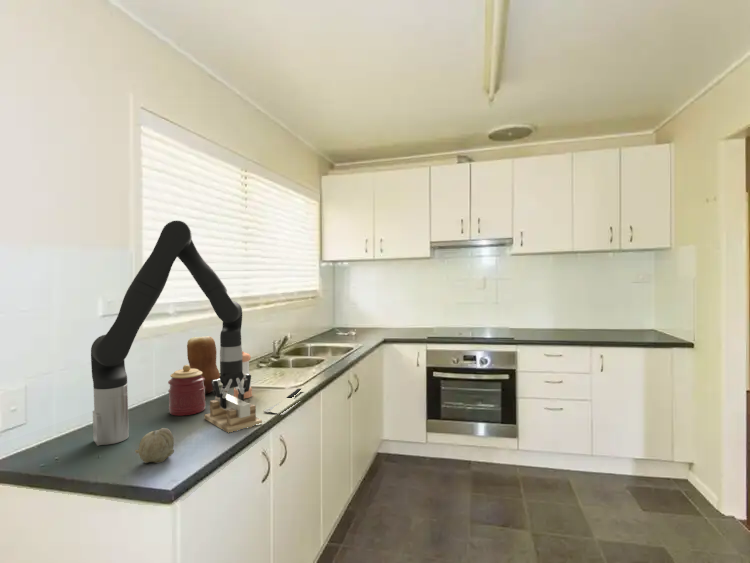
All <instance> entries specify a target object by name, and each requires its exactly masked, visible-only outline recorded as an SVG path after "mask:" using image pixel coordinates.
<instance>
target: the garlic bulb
mask: <svg viewBox="0 0 750 563" xmlns="http://www.w3.org/2000/svg"><path fill="white" fill-rule="evenodd" d="M174 443H175V441H174V436H173V433H172V431H171V430H170V429H169V428H167V427H166V428H165V427H162V428H159V429H157V430H156V429H155V430H153V431H150V432H147V433H146V434H145V435H144V436H143V437H142V438H141V440H140V442H139V445H138V446H139V448H138V449H135V450H134V452H135V454H136V455H137V454H138V456H139V457H140V460H142V461H143V462H144V464H148V463H155V464H157V463H163V462H164V461H165V460H166V459H168V458H169V457H171V456H172V455H173V454H174V453H175V449H174V445H175V444H174Z"/></svg>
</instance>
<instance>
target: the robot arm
mask: <svg viewBox="0 0 750 563" xmlns="http://www.w3.org/2000/svg"><path fill="white" fill-rule="evenodd" d="M192 236H193V235H192V231H191V229H190V227H189V225H188V224H187V223H185V222H184V221H182V220H172V221H169V222H168V223H166V224H165V225H164V226H163V228H162V229H161V232H160V234H159V237H158V239H157V242H156V243H155V246H154V248H153V250H152V251H151V253H150V254H149V256H148V257H147V259H146V261H145V262H144V264H143V265H142V266H141V268H140V269H139V271H138V272H137V274H136V275H135V277H134V278H133V280H132V282H131V283H130V285H129V287H128V288H127V289H126V291H125V293H124V297H123V299H122V303H121V305H120V309H119V312H118V315H117V317H116V319H115V321H114V322H113V324H112V326H111V327H110V328H109V330H108V331H107V332H106V334H102V335H100V336H98V337H97V338H95V340H94V341H93V342H92V344H91V348H90V361H91V362H90V365H91V366H90V367H91V379H92V383H93V385H92V386H93V410H92V433H93V442H94V443H95V445H96V446H97V447H98V446H103V445H104V446H107V445H113V444H118V443H121V442H124V441H126V440H127V439H129V436H130V434H129V433H130V427H129V396H128V395H129V394H128V393H129V392H128V375H127V372H126V364H125V359H126V358H127V356H128V355H129V352H130V350H131V347H132V345H133V344H134V340H135V339H136V336H137V334H138V332H139V331H140V330H139V329H140V328H141V326H142V324H143V323H144V322H145V320H146V319H147V317H148V315H149V314H150V313H151V311H152V309H153V307H154V306H155V305H156V303H157V301H158V299H159V298H160V296H161V293H162V292H163V290H164V288H165V286H166V284H167V281H168V279H169V275H170V272H171V270H172V267H173V265H174V263H175V261H176V259H177V258H178V259H179V260H180V262H182V264H183V265H184V266H185V267H186V268H187V270H188V271H189V273H190V275H191V276H192V278H193V279H194V281H195V283H196V284H197V285H198V287H199V288H200V290H201V291H202V292H203V294H204V295H205V296H206V298H207V299H208V301H209V303H210V305H211V306H212V308H213V310H214V313H215V314H216V316H217V317H218V318H219V319H220V320H221V321H222V329H221V331H220V335H219V336H220V337H219V338H220V339H219V340H220V343H219V344H220V346H219V369H220V370H219V373H220V378H219V379H217V380H212V381H211V383H212V387H213V391H212V392H213V396H214V397H215V396H216V397H218V398H220V406H221V407H222V408H223V409H226V398H225V397H226V394H228V392H229V391H230V389H232V388H235V387H236V388H237V390H238V393H239V394H238V399H240V400H242V401H245V399H244V393H245V392H248V391H249V387H250V381H251V382H252V375H251V374H250V375H249V374H243V372H242V370H243V362H242V357H243V355H242V351H243V348H242V324H243V309H242V306H241V304H240V303H238V302H237V301H233V300H232V299H231V297H230V295H229V294H228V290H227V288H226V286H225V285H224V283H223V281H222V280H221V278H219V276H218V275H217V273H216V272H215V271H214V269H213V268H212V267H211V266H210V265H209V264H208V263H207V262H206V261H205V260H204V258H203V257H202V255H201V254H200V253H199V251H198V249H197V248H196V245H195V243H194V241H193V239H192ZM242 379H244V385H243V387H242V384H241V381H242ZM220 383H221V388H219V386H220Z"/></svg>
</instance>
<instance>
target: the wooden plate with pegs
mask: <svg viewBox="0 0 750 563" xmlns="http://www.w3.org/2000/svg"><path fill="white" fill-rule="evenodd" d="M232 396H233V397H235V396H234V395H232ZM236 398H237V397H236ZM249 404H250V416H247V417H243V418H239V417H237V416H236V410H235V409H233V408H231V409H227V411H226V410H224V409H222V408H220V407H219V401H217V400H216V399H212V400H209V412H210V413H207V414H204V420H205V421H207V422H208V423H211V424H213V425H214V426H216V427H217V428H219V429H221V430H222V429H223V431H224V432H225V431H226V433H227V432H228V433H227V434H230V433H229V432H232V433H234V432H233V431H236V432H238V431H237V430H239V431H241V430H240V429H243V428H247V427H250V428H252V427H251V426H253V425H256V424H259V423H262V424H263V420H262V419H260V418H258V417H256V416H257V415H256V413H257V411H256V405H255V404H253V403H249ZM247 429H248V428H247ZM243 430H244V429H243Z"/></svg>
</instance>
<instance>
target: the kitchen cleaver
mask: <svg viewBox="0 0 750 563" xmlns="http://www.w3.org/2000/svg"><path fill="white" fill-rule="evenodd" d="M301 389H302V388H296V390H294V391H292V392H291V393H289V395H287V396H286V398H292V397H294V395H296V394H297V393H298V392H299V391H300V390H301ZM286 398H285V399H286ZM300 402H301V401H299V402H298V403H300ZM279 403H281V401H280V402H278V403H276V404H274V405H272V406H270V407H267V408H265V409H263V412H265V413H268V412H269V411H270V410H272V409H273V408H274V407H275V406H277V405H279ZM298 403H296V404H295V405H293V406H292V407H290V408H289V409H287V410H286V411H284V412H283V413H281V414H280V415H281V416H283V415H285V414H287V413H288V412H289V411H290V410H291V409H293V407H296V406H297V404H298Z"/></svg>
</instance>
